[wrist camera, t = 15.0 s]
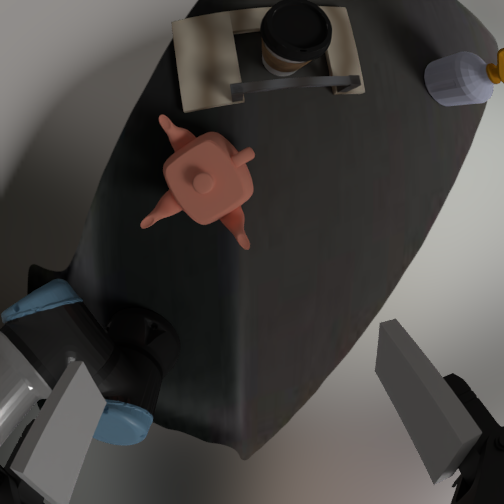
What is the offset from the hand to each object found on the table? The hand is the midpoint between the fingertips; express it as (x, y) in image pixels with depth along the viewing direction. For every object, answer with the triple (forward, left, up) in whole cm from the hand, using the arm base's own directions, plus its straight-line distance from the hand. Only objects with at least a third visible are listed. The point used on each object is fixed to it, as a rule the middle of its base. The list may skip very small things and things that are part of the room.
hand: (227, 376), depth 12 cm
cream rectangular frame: (+9, +24, -37) cm, 45 cm away
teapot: (-4, +5, -37) cm, 38 cm away
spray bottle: (+41, +19, -37) cm, 58 cm away
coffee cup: (+11, +23, -37) cm, 45 cm away
